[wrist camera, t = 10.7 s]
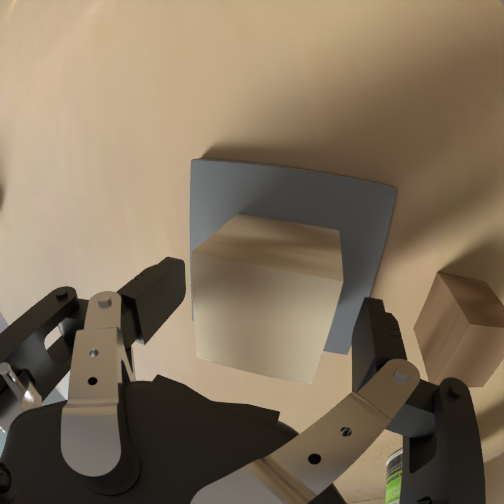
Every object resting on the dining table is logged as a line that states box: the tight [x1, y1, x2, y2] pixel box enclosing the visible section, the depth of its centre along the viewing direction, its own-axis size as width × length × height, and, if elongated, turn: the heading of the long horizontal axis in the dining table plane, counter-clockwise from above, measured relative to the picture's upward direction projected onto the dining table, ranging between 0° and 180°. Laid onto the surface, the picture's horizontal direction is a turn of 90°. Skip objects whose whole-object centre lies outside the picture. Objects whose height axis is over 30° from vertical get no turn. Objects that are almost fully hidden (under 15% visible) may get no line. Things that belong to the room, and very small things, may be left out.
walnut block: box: [414, 272, 504, 387], centre depth 11 cm, size 4×4×5 cm
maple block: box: [191, 214, 343, 385], centre depth 12 cm, size 5×5×5 cm
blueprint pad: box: [190, 158, 397, 355], centre depth 14 cm, size 10×10×1 cm
